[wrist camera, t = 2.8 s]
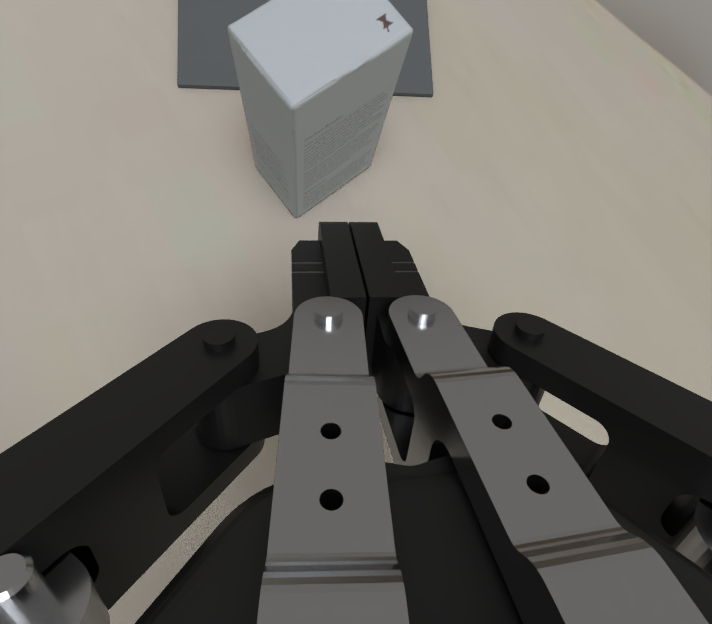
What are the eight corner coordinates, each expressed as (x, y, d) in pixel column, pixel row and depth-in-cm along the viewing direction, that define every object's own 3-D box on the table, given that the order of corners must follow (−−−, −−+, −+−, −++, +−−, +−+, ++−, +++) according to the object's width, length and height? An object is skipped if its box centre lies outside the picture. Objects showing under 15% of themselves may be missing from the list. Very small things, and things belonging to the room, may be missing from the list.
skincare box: (329, 115, 30) (351, -55, 19) (371, 167, 30) (420, 29, 18) (251, 167, 29) (222, 22, 17) (294, 222, 29) (294, 112, 17)
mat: (432, 96, 31) (433, 94, 31) (178, 87, 29) (177, 84, 29) (420, -64, 33) (421, -68, 33) (180, -84, 31) (179, -88, 31)
